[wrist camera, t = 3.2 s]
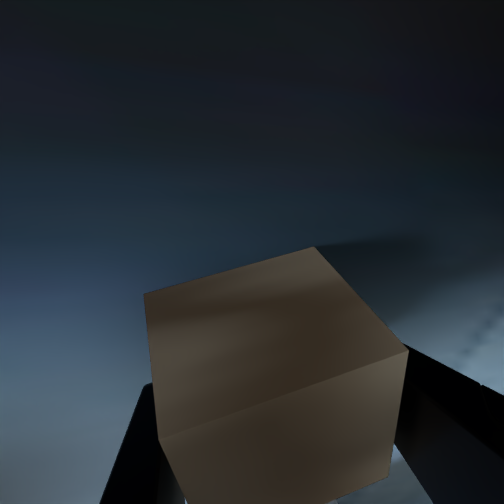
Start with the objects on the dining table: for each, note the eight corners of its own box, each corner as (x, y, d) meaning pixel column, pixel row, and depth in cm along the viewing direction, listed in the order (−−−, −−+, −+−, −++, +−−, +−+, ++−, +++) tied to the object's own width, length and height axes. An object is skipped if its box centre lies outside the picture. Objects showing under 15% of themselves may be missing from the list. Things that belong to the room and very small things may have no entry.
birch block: (183, 403, 11) (210, 553, 8) (143, 291, 9) (158, 439, 6) (316, 358, 12) (388, 476, 9) (312, 244, 10) (409, 350, 7)
